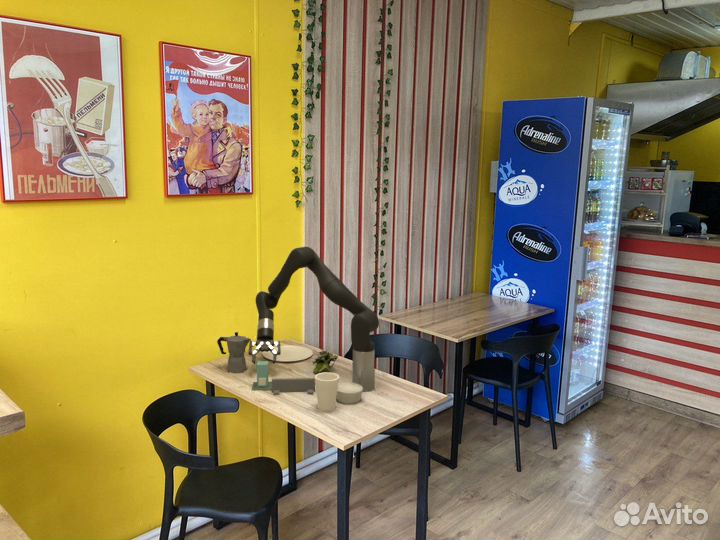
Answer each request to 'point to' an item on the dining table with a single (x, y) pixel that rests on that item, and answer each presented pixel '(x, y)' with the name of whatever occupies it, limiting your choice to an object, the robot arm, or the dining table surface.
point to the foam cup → (326, 390)
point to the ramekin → (349, 393)
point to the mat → (263, 387)
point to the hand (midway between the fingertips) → (264, 363)
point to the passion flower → (324, 361)
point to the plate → (289, 353)
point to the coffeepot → (235, 352)
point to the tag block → (262, 374)
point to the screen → (293, 385)
